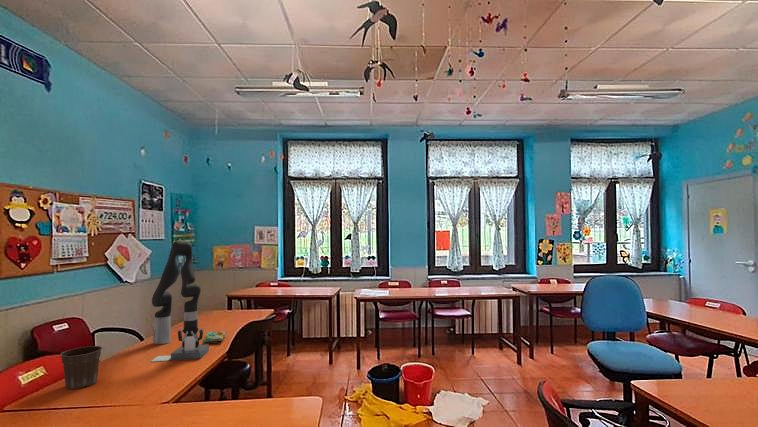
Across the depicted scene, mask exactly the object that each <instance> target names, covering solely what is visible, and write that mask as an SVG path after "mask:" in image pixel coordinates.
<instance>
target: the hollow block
mask: <svg viewBox="0 0 758 427" xmlns="http://www.w3.org/2000/svg"><path fill="white" fill-rule="evenodd" d="M209 351H210V343H207V344H206V343H205V344H199V346H198V347H197V349H196V350H193V351H184V348H183V347H182V345H180V346H179V347H177V349H175V350H174V351H172V352H171V353H170V356H171V359H170V361H172V362H174V361H175V362H176V361H188V360H189V361H190V360H191V361H192V360H201V359H202V358H203V357H204V356H205V355H206V354H207V353H208V352H209Z"/></svg>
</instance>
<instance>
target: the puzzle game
mask: <svg viewBox="0 0 758 427" xmlns="http://www.w3.org/2000/svg"><path fill="white" fill-rule="evenodd" d="M226 334H227V330H221V331H220V330H219V331H208V332H207V334H206V335H205V336H204V338H202V343H205V344H219V343H222V342H223V340H224V338H225V337H226Z"/></svg>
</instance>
